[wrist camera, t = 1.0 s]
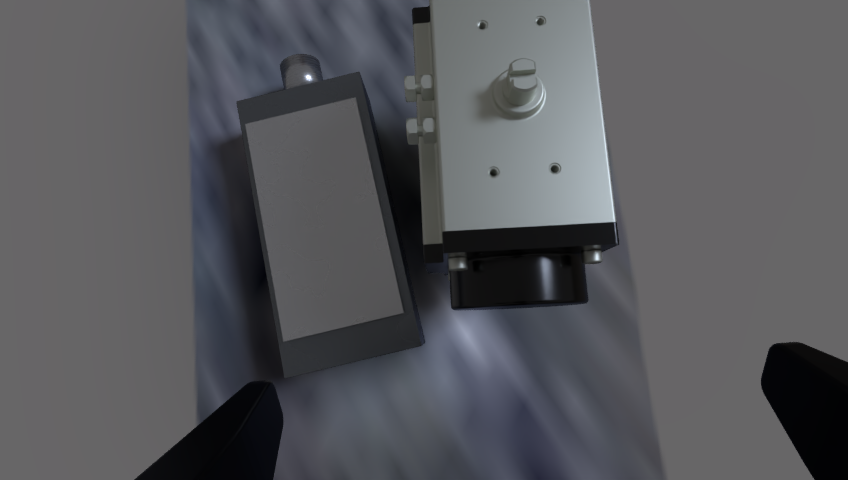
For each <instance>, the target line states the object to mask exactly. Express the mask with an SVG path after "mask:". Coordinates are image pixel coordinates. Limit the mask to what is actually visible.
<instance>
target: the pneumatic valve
mask: <svg viewBox="0 0 848 480" xmlns="http://www.w3.org/2000/svg"><path fill="white" fill-rule="evenodd" d="M429 4H430V5H429V6H428V7H419V8H413V9H412V18H413V39H414V61H415V76H405V77H404V83H405V96H406V102H416V103H417V118H407V119H406V129H407V141H408V144H409V145H417V144H418V146H419V167H420V188H421V210H422V231H423V252H424V265H425V267H426V270H427V272H428V273H444V275H448V280H449V281H450V294H451V308H452V309H453V310H492V309H514V308H533V307H550V306H565V305H577V304H585V303H587V302H588V292H587V283H586V273H585V264H597V263H601V262H602V252H603V251H606V250H608V249H610V248H612V247H615V246H617V245H619V238H618V229H617V223H616V222H617V221H616V213H615V204H614V196H613V188H612V179H611V171H610V163H609V154H608V146H607V138H606V129H605V121H604V113H603V105H602V96H601V88H600V80H599V72H598V64H597V55H596V46H595V39H594V30H593V22H592V13H591V5H590V0H429Z"/></svg>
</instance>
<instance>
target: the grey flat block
mask: <svg viewBox="0 0 848 480" xmlns="http://www.w3.org/2000/svg"><path fill="white" fill-rule="evenodd" d="M280 70H281V76H282V81H283V86H284V90H282V91H278V92H273V93H269V94H265V95H261V96H257V97H253V98H249V99H245V100H241V101H236V102H237V108H238V113H239V119H240V125H241V131H242V136H243V142H244V148H245V154H246V159H247V165H248V171H249V177H250V183H251V188H252V194H253V200H254V206H255V211H256V217H257V223H258V229H259V234H260V240H261V246H262V252H263V257H264V263H265V269H266V275H267V280H268V286H269V292H270V298H271V303H272V309H273V315H274V321H275V327H276V332H277V338H278V344H279V350H280V355H281V361H282V367H283V373H284V378H288V377H292V376H297V375H301V374H305V373H309V372H313V371H318V370H322V369H326V368H330V367H335V366H339V365H343V364H347V363H351V362H356V361H360V360H364V359H368V358H372V357H377V356H381V355H385V354H389V353H393V352H398V351H402V350H406V349H410V348H414V347H419V346H422V345H423V344H424V343H425V340H424V335H423V331H422V327H421V322H420V318H419V314H418V309H417V305H416V301H415V296H414V292H413V287H412V283H411V279H410V274H409V270H408V266H407V261H406V257H405V253H404V248H403V244H402V240H401V235H400V231H399V226H398V222H397V218H396V213H395V209H394V205H393V200H392V196H391V192H390V187H389V183H388V178H387V174H386V170H385V165H384V161H383V157H382V152H381V148H380V144H379V139H378V135H377V130H376V126H375V122H374V117H373V113H372V109H371V104H370V100H369V97H368V95H367V92H366V89H365V86H364V83H363V81H362V78H361V75H360V72H356V73H352V74H347V75H343V76H339V77H335V78H331V79H327V80H323V77H322V72H321V68H320V63H319V61H318V59H317V58H315V57H314V56H311V55H307V54H296V55H292V56H289V57H287V58H285V59H284V60H283V61H282V62H281V64H280Z"/></svg>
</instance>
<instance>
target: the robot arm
mask: <svg viewBox="0 0 848 480" xmlns="http://www.w3.org/2000/svg"><path fill="white" fill-rule="evenodd" d="M761 386H762V390H763V392H764V394H765V396H766V398H767V400H768V401H769V403H770V405H771V407H772V409H773V410H774V412H775V413H776V415H777V417H778V419H779V421H780V422H781V424H782V426H783V427H784V429H785V431H786V433H787V434H788V436H789V438H790V439H791V441H792V443H793V445H794V446H795V448H796V450H797V451H798V453H799V455H800V457H801V459H802V460H803V462H804V464H805V465H806V467H807V468H808V470H809V472H810V473H811V475H812V476H813V478H814V479H815V480H848V362H846V361H843V360H841V359H838V358H836V357H834V356H831V355H829V354H827V353H824V352H822V351H819V350H817V349H815V348H812V347H810V346H807V345H805V344H803V343H799V342H789V343H777V344H774V345H772V346H771V347H770V349H769V351H768V355H767V358H766V362H765V366H764V370H763V373H762V378H761ZM282 429H283V412H282V409H281V405H280V402H279V399H278V395H277V392H276V389H275V386H274V384H273V383H272V382H271V381H268V380H267V381H254V382H249V383H248V384H246V385H245V386H244V387H243V388H241V389H240V390H239V391H238V392H237V393H236V394H234V395H233V396H232V397H231V398H230V399H229V400H227V401H226V402H225V403H224V404H223V405H221V406H220V407H219V408H218V409H217V410H216V411H214V412H213V413H212V414H211V415H210V416H209V417H207V418H206V419H205V420H204V421H203V422H201V423H200V424H199V425H198V426H197V427H196V428H194V429H193V430H192V431H191V432H190V433H189V434H187V435H186V436H185V437H184V438H183V439H182V440H180V441H179V442H178V443H177V444H176V445H174V446H173V447H172V448H171V449H170V450H169V451H168V452H166V453H165V454H164V455H163V456H162V457H160V458H159V459H158V460H157V461H156V462H155V463H153V464H152V465H151V466H150V467H149V468H147V469H146V470H145V471H144V472H143V473H142V474H140V475H139V476H138V477H137V478H136V479H135V480H273V477H274V472H275V466H276V461H277V456H278V450H279V445H280V439H281V434H282Z"/></svg>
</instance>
